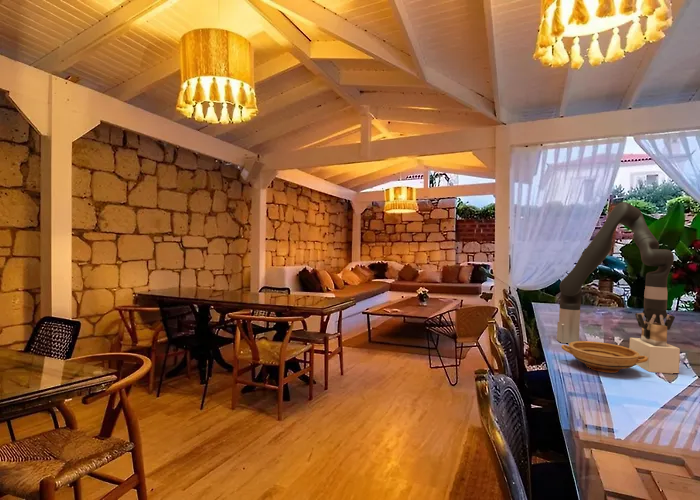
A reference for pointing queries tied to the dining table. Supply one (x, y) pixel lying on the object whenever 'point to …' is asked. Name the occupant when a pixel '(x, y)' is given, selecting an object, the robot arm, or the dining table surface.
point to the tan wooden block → (656, 335)
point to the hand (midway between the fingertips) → (653, 338)
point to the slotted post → (657, 356)
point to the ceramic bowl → (604, 355)
